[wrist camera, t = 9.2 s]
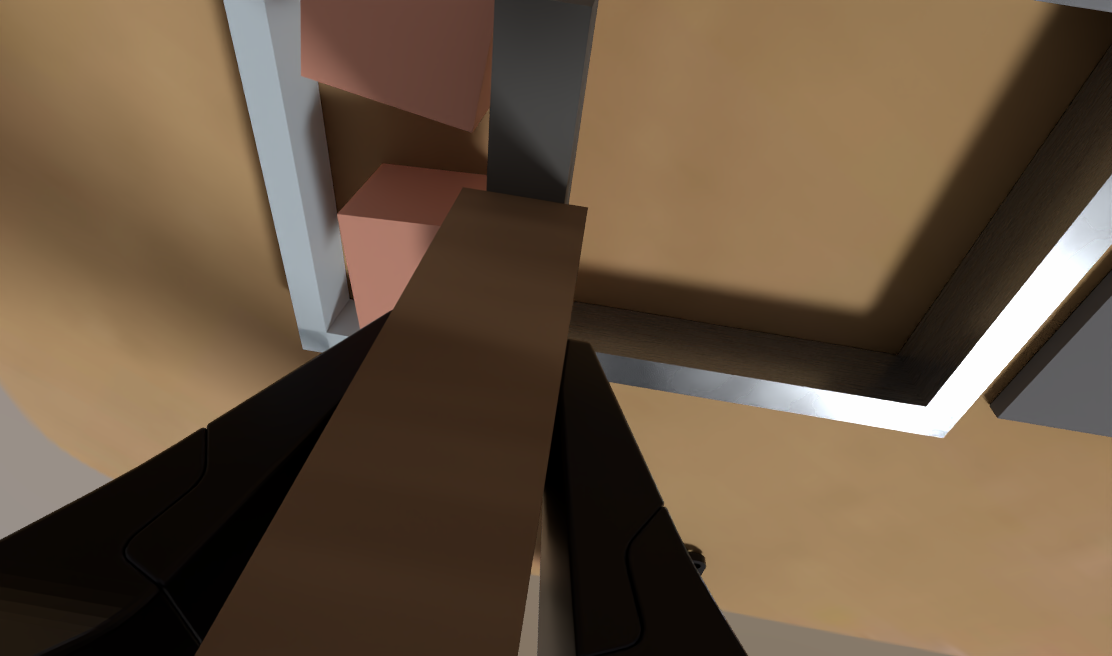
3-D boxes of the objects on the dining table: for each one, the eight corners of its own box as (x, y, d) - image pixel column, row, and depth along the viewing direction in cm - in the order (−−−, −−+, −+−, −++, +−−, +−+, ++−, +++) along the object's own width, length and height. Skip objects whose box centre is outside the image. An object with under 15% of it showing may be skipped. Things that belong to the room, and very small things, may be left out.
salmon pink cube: (508, 282, 20) (487, 346, 17) (398, 269, 20) (360, 330, 17) (510, 176, 17) (486, 231, 15) (383, 161, 17) (336, 214, 15)
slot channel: (913, 384, 20) (942, 437, 18) (561, 326, 20) (553, 372, 19) (1236, -47, 12) (1351, -33, 10) (637, -140, 12) (637, -143, 10)
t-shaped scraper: (563, 346, 16) (477, 870, 8) (481, 332, 16) (305, 839, 8) (624, -14, 10) (561, 473, 2) (498, -34, 10) (-130, 354, 2)
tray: (544, 351, 21) (536, 388, 20) (327, 315, 21) (302, 349, 20) (627, -234, 11) (625, -251, 10) (216, -296, 11) (150, -323, 10)
